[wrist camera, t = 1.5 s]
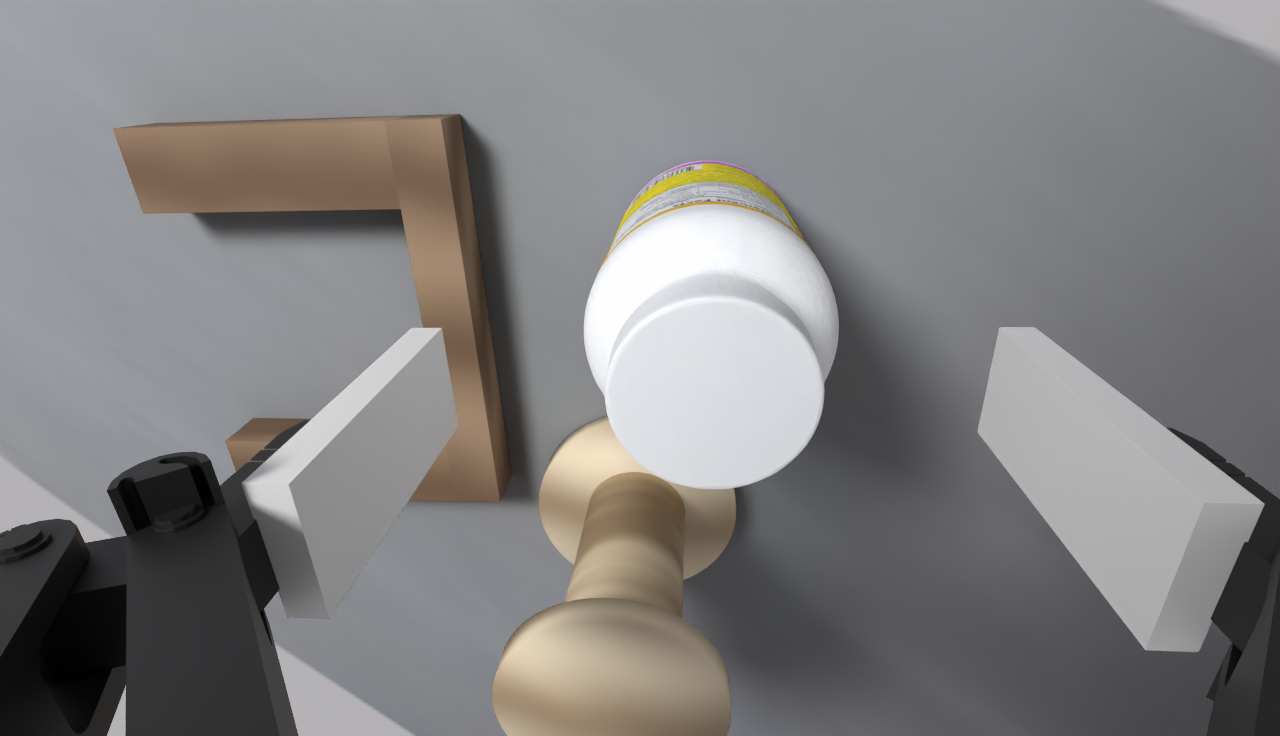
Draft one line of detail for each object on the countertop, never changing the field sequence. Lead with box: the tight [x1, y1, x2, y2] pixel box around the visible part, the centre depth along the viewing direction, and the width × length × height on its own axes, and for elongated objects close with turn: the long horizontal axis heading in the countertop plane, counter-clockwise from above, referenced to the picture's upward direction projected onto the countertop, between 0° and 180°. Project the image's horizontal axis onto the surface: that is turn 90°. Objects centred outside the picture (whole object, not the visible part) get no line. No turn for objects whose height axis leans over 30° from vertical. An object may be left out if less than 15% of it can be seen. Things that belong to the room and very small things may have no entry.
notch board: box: [113, 114, 511, 502], centre depth 27 cm, size 16×12×2 cm
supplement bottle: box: [584, 161, 839, 489], centre depth 20 cm, size 7×7×13 cm
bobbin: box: [492, 416, 736, 736], centre depth 26 cm, size 9×9×11 cm
